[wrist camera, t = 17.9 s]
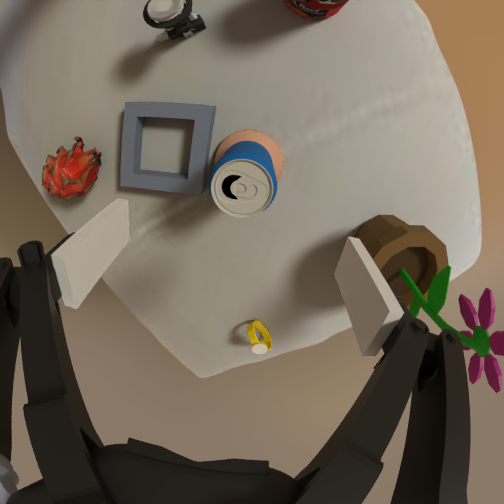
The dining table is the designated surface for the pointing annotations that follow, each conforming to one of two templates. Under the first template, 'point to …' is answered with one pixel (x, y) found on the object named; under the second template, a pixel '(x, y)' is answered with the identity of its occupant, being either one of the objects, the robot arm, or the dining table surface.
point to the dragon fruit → (71, 171)
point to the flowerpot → (432, 286)
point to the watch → (256, 345)
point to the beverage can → (243, 180)
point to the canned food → (316, 7)
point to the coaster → (259, 138)
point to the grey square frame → (157, 179)
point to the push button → (172, 18)
